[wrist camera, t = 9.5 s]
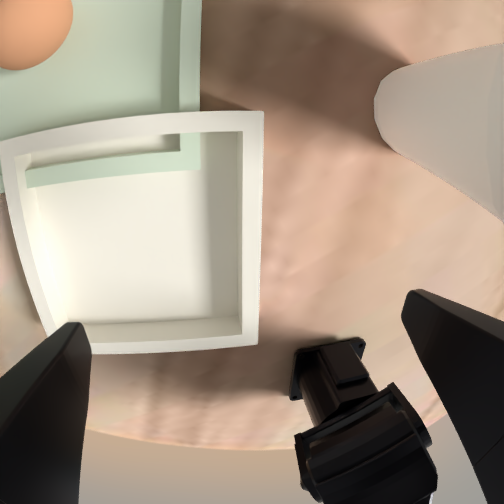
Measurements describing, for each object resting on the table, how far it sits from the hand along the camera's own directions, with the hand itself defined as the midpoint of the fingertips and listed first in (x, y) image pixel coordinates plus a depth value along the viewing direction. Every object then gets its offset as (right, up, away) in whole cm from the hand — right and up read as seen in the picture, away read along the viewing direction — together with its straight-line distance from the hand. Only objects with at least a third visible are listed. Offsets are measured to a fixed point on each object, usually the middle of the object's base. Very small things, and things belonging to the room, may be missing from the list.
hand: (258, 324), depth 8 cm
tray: (-12, +14, +4) cm, 19 cm away
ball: (-11, +13, +1) cm, 17 cm away
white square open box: (-7, +3, +11) cm, 13 cm away
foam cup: (+11, +11, +11) cm, 19 cm away
